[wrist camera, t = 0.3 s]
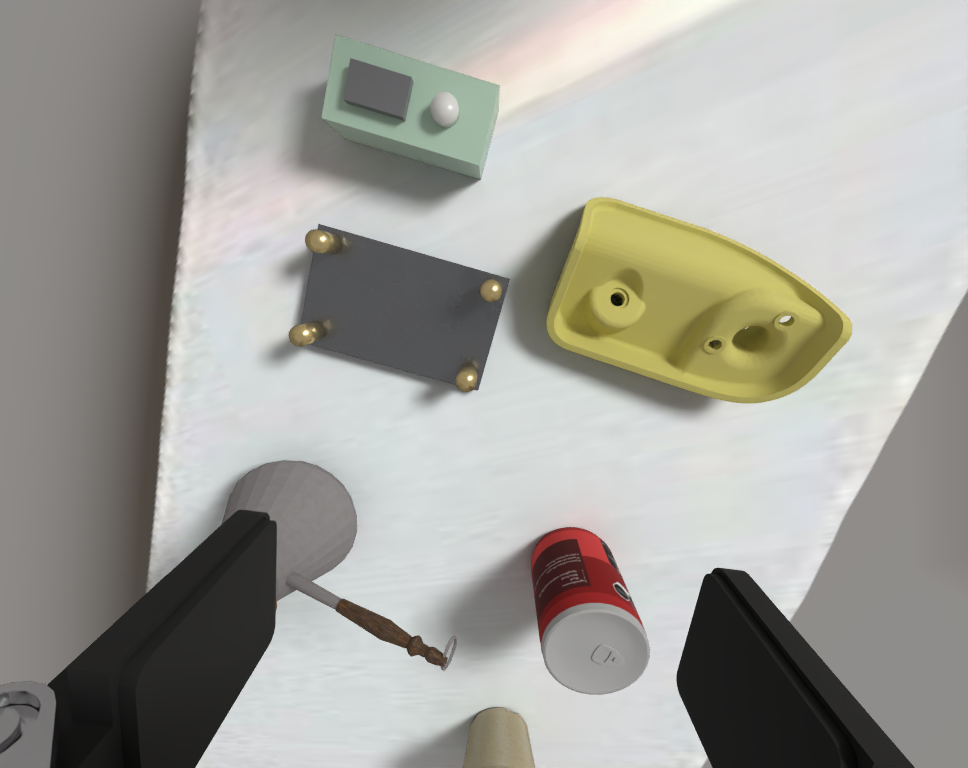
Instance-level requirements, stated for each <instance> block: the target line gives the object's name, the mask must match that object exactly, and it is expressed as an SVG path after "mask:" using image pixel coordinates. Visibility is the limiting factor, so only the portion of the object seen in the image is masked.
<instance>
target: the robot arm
mask: <svg viewBox="0 0 968 768" xmlns="http://www.w3.org/2000/svg"><path fill="white" fill-rule="evenodd" d="M276 558H277V523H276V521H274V520H270V516H269V514H268V513H267V512H259V511H250V510H238V511H236V512H235V513H234V514H233V515H232V516H231V517H230V518H228V519H227V520H226V521H225V522H224V523H223V524H222V525H221V526H220V527H219V528H218V529H217V530H215V531H214V532H213V533H212V534H211V535H210V536H209V537H208V538H207V539H206V540H205V541H204V542H202V543H201V544H200V545H199V546H198V547H197V548H196V549H195V550H194V551H193V552H192V553H191V554H189V555H188V556H187V557H186V558H185V559H184V560H183V561H182V562H181V563H180V564H179V565H178V566H176V567H175V568H174V569H173V570H172V571H171V572H170V573H169V574H168V575H166V576H165V577H164V578H163V579H162V580H161V581H160V582H158V583H157V584H156V585H155V586H154V587H153V588H152V589H151V590H150V591H149V592H148V593H147V594H145V596H143V597H142V598H141V599H140V600H139V601H138V602H137V603H136V604H135V605H134V606H132V607H131V608H130V609H129V610H128V611H127V612H126V613H125V614H124V615H123V616H122V617H120V618H119V619H118V620H117V621H116V622H115V623H114V624H113V625H112V626H111V627H110V628H109V629H108V630H106V631H105V632H104V633H103V634H102V635H101V636H100V637H99V638H98V639H97V640H96V641H94V642H93V643H92V644H91V645H90V646H89V647H88V648H87V649H86V650H85V651H84V652H82V653H81V654H80V655H79V656H78V657H77V658H76V659H75V660H74V661H73V662H72V663H71V664H69V665H68V666H67V667H66V668H65V669H64V670H63V671H62V672H61V673H60V674H59V675H58V676H57V677H55V678H54V679H53V680H52V681H51V682H50V683H49V684H48V685H46V684H43V683H38V682H33V681H24V682H11V683H7V684H3V685H0V768H195V767H196V765H197V764H198V762H199V760H200V759H201V757H202V755H203V754H204V752H205V750H206V749H207V747H208V745H209V744H210V742H211V740H212V739H213V737H214V735H215V734H216V732H217V730H218V729H219V727H220V725H221V724H222V722H223V720H224V719H225V717H226V716H227V714H228V712H229V711H230V709H231V707H232V706H233V704H234V702H235V701H236V699H237V697H238V696H239V694H240V692H241V691H242V689H243V687H244V686H245V684H246V682H247V681H248V679H249V677H250V676H251V674H252V672H253V671H254V669H255V667H256V666H257V664H258V662H259V661H260V659H261V657H262V656H263V654H264V652H265V651H266V649H267V648H268V646H269V644H270V642H271V640H272V637H273V634H274V630H275V614H276ZM677 687H678V691H679V694H680V696H681V698H682V701H683V703H684V705H685V707H686V709H687V712H688V714H689V716H690V718H691V721H692V723H693V725H694V727H695V730H696V732H697V734H698V736H699V738H700V741H701V743H702V745H703V747H704V750H705V752H706V754H707V756H708V758H709V761H710V763H711V765H712V767H713V768H914V766H913V765H912V764H911V763H910V762H909V761H908V759H907V758H906V757H905V756H904V755H903V754H902V752H901V751H900V750H899V749H898V748H897V747H896V745H895V744H894V743H893V742H892V741H891V740H890V738H889V737H888V736H887V735H886V734H885V733H884V731H882V729H881V728H880V727H879V726H878V724H877V723H876V722H875V721H874V720H873V719H872V717H871V716H870V715H869V714H868V713H867V712H866V710H865V709H864V708H863V707H862V706H861V705H860V703H859V702H858V701H857V700H856V699H855V698H854V696H853V695H852V694H851V693H850V692H849V691H848V690H847V688H846V687H845V686H844V685H843V684H842V683H841V681H840V680H839V679H838V678H837V677H836V676H835V674H834V673H833V672H832V671H831V670H830V669H829V667H828V666H827V665H826V664H825V663H824V662H823V660H822V659H821V658H820V657H819V656H818V655H817V653H816V652H815V651H814V650H813V649H812V648H811V647H810V645H809V644H808V643H807V642H806V641H805V639H804V638H803V637H802V636H801V635H800V634H799V632H798V631H796V629H795V628H794V627H793V625H792V624H791V623H790V622H789V621H788V620H787V619H786V617H785V616H784V615H783V614H782V613H781V612H780V610H779V609H778V608H777V607H776V606H775V605H774V603H773V602H772V601H771V600H770V599H769V598H768V596H767V595H766V594H765V593H764V592H763V591H762V589H761V588H760V587H759V586H758V585H757V584H756V582H755V581H754V580H753V579H752V578H751V577H750V575H749V574H747V573H746V572H745V571H741V570H732V569H724V568H715V569H714V570H713V571H712V573H711V574H706V575H705V577H704V579H703V582H702V586H701V589H700V593H699V596H698V600H697V603H696V607H695V610H694V614H693V618H692V621H691V625H690V628H689V632H688V635H687V639H686V642H685V646H684V650H683V653H682V657H681V660H680V664H679V667H678V671H677Z"/></svg>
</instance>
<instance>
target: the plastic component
mask: <svg viewBox="0 0 968 768" xmlns="http://www.w3.org/2000/svg"><path fill="white" fill-rule="evenodd" d="M613 294H618V295H619V296H621V298H622V300H623V302H622V305H621V306H615V305H613V304H612V303H611V299H610V298H611V295H613ZM784 316H791V318H790V320H788V321H787V322H783V323H781V322H779V320H780V319H781V318H782V317H784ZM546 325H547V331H548V333H549V335H550V337H551V339H552V340H553V341H554V342H555V343H556V344H557V345H558V346H560V347H562V348H564V349H566V350H569V351H572V352H575V353H578V354H581V355H584V356H587V357H590V358H593V359H596V360H599V361H602V362H605V363H608V364H611V365H614V366H617V367H620V368H623V369H626V370H629V371H632V372H635V373H638V374H641V375H644V376H647V377H649V378H652V379H655V380H658V381H661V382H664V383H667V384H670V385H673V386H676V387H679V388H682V389H685V390H688V391H692V392H695V393H698V394H701V395H704V396H708V397H711V398H715V399H719V400H724V401H729V402H736V403H761V402H766V401H771V400H775V399H778V398H781V397H784V396H786V395H789V394H791V393H793V392H795V391H797V390H798V389H800V388H801V387H803V386H804V385H806V384H807V383H808V382H809V381H810V380H812V379H813V378H814V377H815V376H816V375H817V374H818V373H819V372H820V371H821V370H822V369H823V368H824V367H825V366H826V364H827V363H828V362H829V361H830V360H831V359H832V358H833V357H834V356H835V354H836V353H837V352H838V351H839V350H840V349H841V348H842V347H843V346H844V345H845V344H846V343H847V341H848V340H849V339H850V337H851V334H852V323H851V321H850V319H849V318H848V317H847V316H846V315H845V314H844V313H843V312H842V311H841V310H840V309H839V308H838V307H837V306H836V305H834V304H833V303H832V302H831V301H830V300H829V299H827V298H826V297H825V296H824V295H823V294H821V293H820V292H819V291H817V290H816V289H815V288H813V287H812V286H811V285H809V284H808V283H807V282H805V281H804V280H802V279H801V278H799V277H798V276H796V275H795V274H793V273H792V272H790V271H789V270H787V269H786V268H784V267H783V266H781V265H779V264H778V263H776V262H774V261H773V260H771V259H769V258H768V257H766V256H764V255H762V254H760V253H758V252H757V251H755V250H753V249H751V248H749V247H747V246H745V245H743V244H741V243H738V242H736V241H734V240H732V239H730V238H727V237H725V236H723V235H720V234H718V233H715V232H713V231H710V230H708V229H705V228H702V227H699V226H696V225H693V224H690V223H687V222H684V221H681V220H678V219H675V218H672V217H669V216H666V215H662V214H659V213H656V212H653V211H650V210H647V209H644V208H641V207H638V206H635V205H632V204H629V203H626V202H623V201H620V200H617V199H612V198H603V197H599V198H593V199H591V200H589V201H588V202H587V203H586V205H585V208H584V210H583V214H582V218H581V222H580V225H579V228H578V231H577V234H576V237H575V239H574V242H573V245H572V247H571V250H570V253H569V255H568V258H567V260H566V263H565V266H564V268H563V271H562V273H561V276H560V278H559V281H558V284H557V286H556V289H555V291H554V294H553V296H552V299H551V302H550V307H549V311H548V315H547V322H546ZM746 327H748V328H747V329H744V328H746ZM741 329H744V330H741ZM713 340H719V341H720V342H719V343H718V344H717V345H715V346H710V345H709V343H710V342H711V341H713Z"/></svg>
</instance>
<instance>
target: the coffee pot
mask: <svg viewBox="0 0 968 768" xmlns="http://www.w3.org/2000/svg"><path fill="white" fill-rule="evenodd" d="M238 510H250V511H259V512H267V513H268V514H269V516H270V520H274V521H276V523H277V558H276V609H277V601H278V600H280V599H281V598H283V597H285V596H287V595H288V594H290V593H292V592H294V591H295V590H298V591H300V592H302V593H304V594H306V595H308V596H310V597H312V598H314V599H316V600H318V601H320V602H322V603H324V604H326V605H328V606H329V607H331V608H333V609H335V610H336V611H337V612H338V613H340V614H341V615H343V616H344V617H346V618H348V619H349V620H351V621H352V622H354V623H355V624H357V625H359V626H360V627H362V628H363V629H365V630H366V631H368V632H369V633H371V634H373V635H374V636H376V637H377V638H379V639H380V640H383V641H386V642H389V643H392V644H395V645H398V646H400V647H403V648H407V651H408V654H409V655H410V656H415V655H420V656H422V657H425V659H426V660H427V662H429V663H432V664H434V665H439V666H441V669H442V670H443V671H445V670H446V668H447V667H448V665H449V663H450V662H451V659H452V657H453V654H454V651H455V648H456V645H457V638H456V636H452V637H451V639H450V640H449V642H448V644H447V646H446V649H445V651H444V654H443V653H442V652H440V651H439V650H438V649H436V648H435V647H428V646H427V645H425V644H423V641H422V639H421V637H420V636H414V637H411V636H410V635H409V634H408V633H406V632H405V631H404V630H402V629H401V628H400V627H398V626H397V625H396V624H395V623H393V622H392V621H391V620H389V619H387V618H385V617H383V616H380V615H378V614H376V613H374V612H372V611H369V610H367V609H365V608H363V607H361V606H358V605H356V604H354V603H352V602H350V601H347V600H345V599H341V598H339V597H337V596H336V595H334V594H332V593H330V592H329V591H327V590H325V589H324V588H322V587H320V586H318V585H317V584H315V583H313V582H311V581H313V580H315V579H317V578H318V577H320V576H322V575H324V574H325V573H327V572H329V571H331V570H332V569H333V568H335V567H336V566H337V565H338V564H339V563H341V562H342V561H343V560H344V559H345V557H346V556H347V554H348V553H349V551H350V550H351V548H352V547H353V543H354V540H355V536H356V533H357V515H356V512H355V508H354V505H353V502H352V499H351V496H350V495H349V493H348V492H347V490H346V489H345V487H344V485H343V484H342V483H341V482H340V481H339V480H338V479H337V478H335V477H334V476H333V475H332V474H331V473H329V472H327V471H326V470H324V469H322V468H321V467H319V466H316V465H313V464H310V463H306V462H303V461H287V460H286V461H277V462H272V463H267V464H264V465H262V466H260V467H258V468H256V469H254V470H252V471H250V472H248V473H247V474H246V475H245V476H244V477H243V478H242V479H241V480H240V481H239V482H238V483H237V485H236V486H235V488H234V490H233V492H232V493H231V495H230V497H229V500H228V504H227V508H226V511H225V515H224V519H223V522H222V524H223V523H224V522H225V521H226V520H227V519H228V518H230V517H231V516H232V515H233V514H234V513H235V512H236V511H238ZM453 640H454V645H453V648H452V652H451V654H450V657H449V659H448V661H447V657H446V654H447V652H448V649H449V646H450V645H451V643H452V641H453ZM446 662H447V663H446ZM445 664H446V665H445Z"/></svg>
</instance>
